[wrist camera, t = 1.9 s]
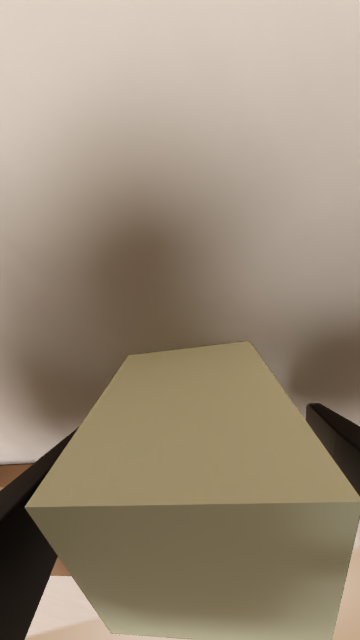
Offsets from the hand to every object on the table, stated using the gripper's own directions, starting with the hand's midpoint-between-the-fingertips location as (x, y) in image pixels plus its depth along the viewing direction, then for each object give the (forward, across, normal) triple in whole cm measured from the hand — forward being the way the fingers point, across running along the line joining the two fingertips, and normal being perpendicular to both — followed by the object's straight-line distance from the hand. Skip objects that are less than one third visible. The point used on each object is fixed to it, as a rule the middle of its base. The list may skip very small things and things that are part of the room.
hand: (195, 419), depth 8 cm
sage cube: (+1, 0, 0) cm, 1 cm away
